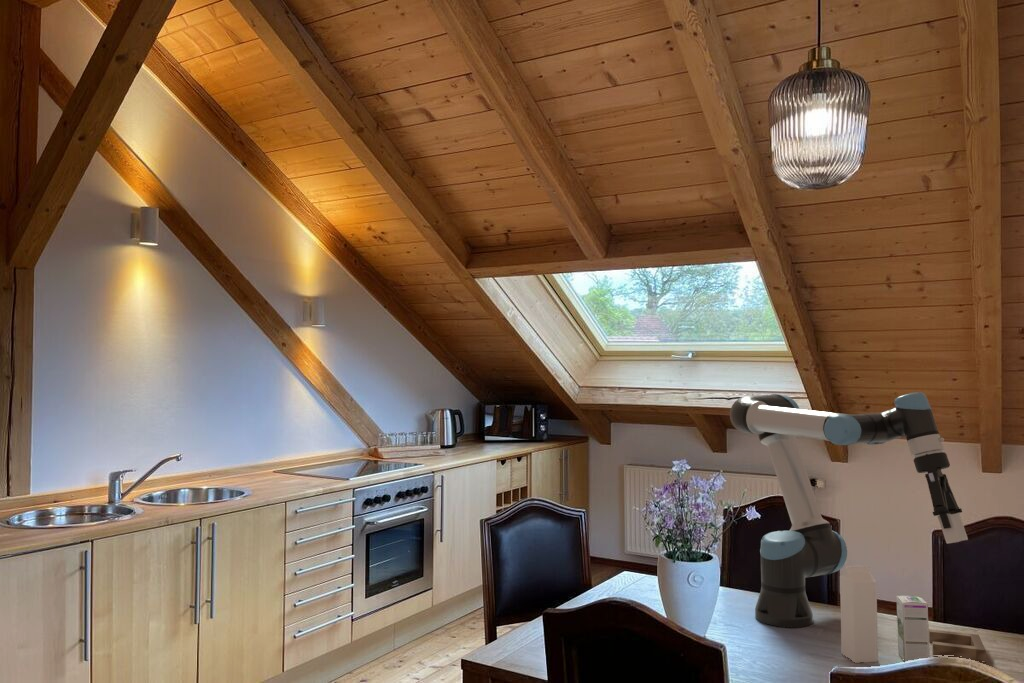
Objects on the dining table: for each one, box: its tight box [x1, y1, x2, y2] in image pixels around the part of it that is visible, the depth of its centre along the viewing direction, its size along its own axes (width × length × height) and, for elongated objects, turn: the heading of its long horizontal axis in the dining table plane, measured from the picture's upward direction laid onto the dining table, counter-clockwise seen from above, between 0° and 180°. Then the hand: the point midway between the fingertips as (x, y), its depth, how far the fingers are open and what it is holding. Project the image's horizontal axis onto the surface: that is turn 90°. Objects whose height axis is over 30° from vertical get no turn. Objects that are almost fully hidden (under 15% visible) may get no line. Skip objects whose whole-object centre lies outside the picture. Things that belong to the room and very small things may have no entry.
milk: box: [839, 564, 879, 664], centre depth 189 cm, size 6×6×22 cm
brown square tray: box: [929, 628, 987, 664], centre depth 193 cm, size 11×12×3 cm
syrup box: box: [896, 595, 931, 662], centre depth 188 cm, size 6×6×14 cm
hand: (957, 541), depth 188 cm, fingers open, 13 cm apart
